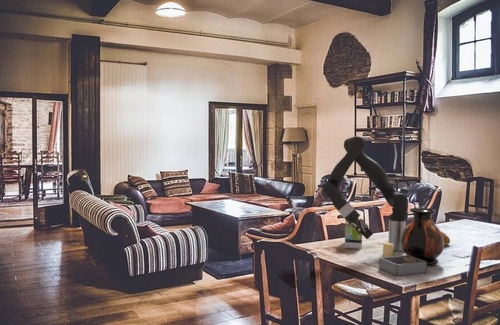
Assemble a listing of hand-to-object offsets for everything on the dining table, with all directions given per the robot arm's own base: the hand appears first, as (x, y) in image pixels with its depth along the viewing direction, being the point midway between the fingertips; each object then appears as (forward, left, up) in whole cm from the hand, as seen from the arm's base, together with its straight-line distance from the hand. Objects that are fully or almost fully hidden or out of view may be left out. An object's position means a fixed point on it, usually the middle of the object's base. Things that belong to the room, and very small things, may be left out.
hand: (370, 236), depth 245 cm
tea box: (-11, -32, -13) cm, 36 cm away
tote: (-5, +21, -13) cm, 25 cm away
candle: (-7, +7, -13) cm, 16 cm away
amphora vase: (-25, +11, -13) cm, 30 cm away
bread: (-57, -29, -13) cm, 65 cm away
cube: (-9, +21, -12) cm, 26 cm away
